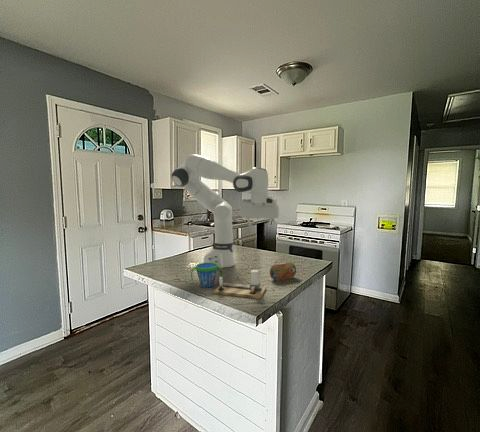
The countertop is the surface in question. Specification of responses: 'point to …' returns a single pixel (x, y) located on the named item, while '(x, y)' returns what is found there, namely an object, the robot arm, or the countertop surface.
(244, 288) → the board
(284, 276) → the tin
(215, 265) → the snack cup
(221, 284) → the fixed leg
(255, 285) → the sliding pointer
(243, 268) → the countertop surface
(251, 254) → the countertop surface
